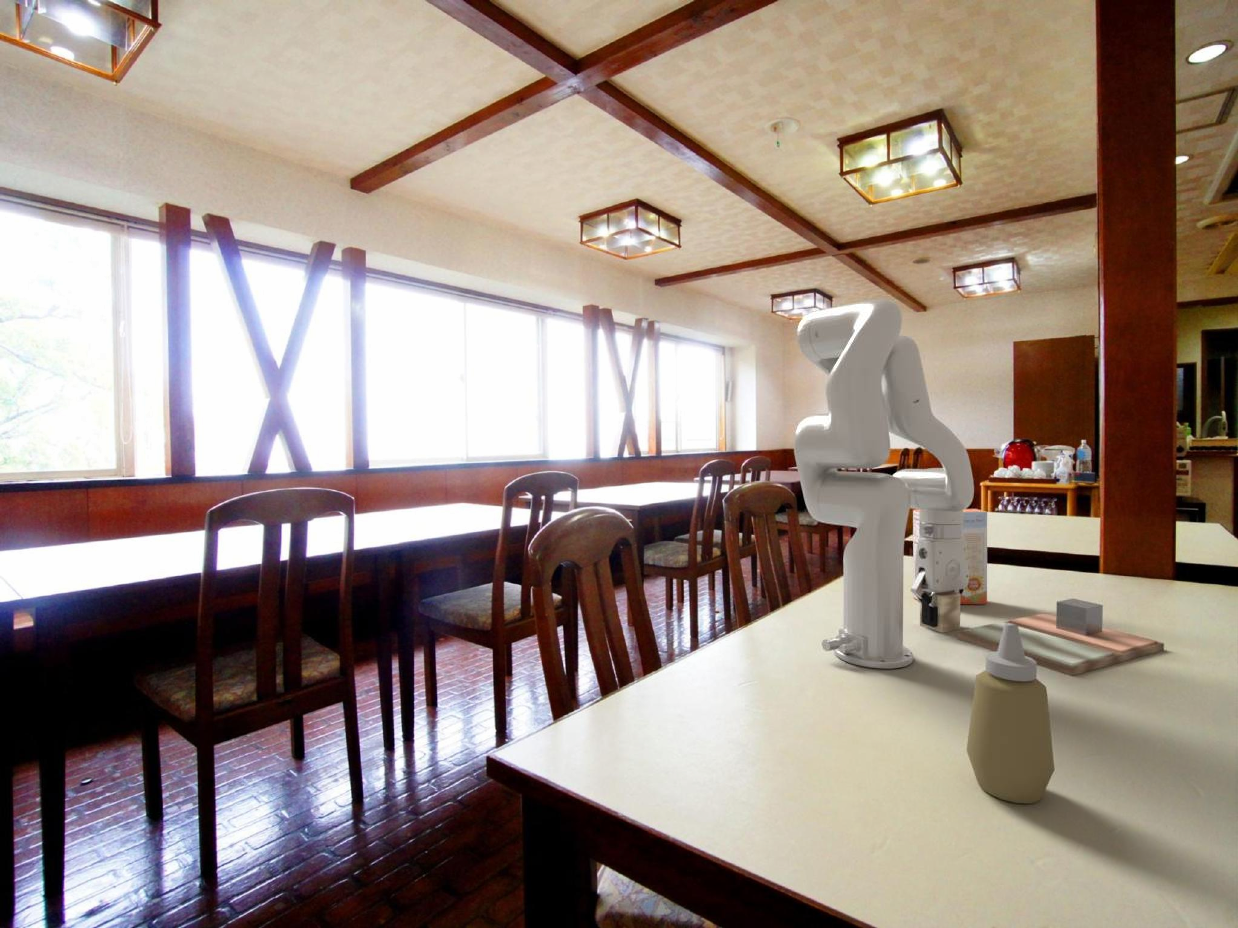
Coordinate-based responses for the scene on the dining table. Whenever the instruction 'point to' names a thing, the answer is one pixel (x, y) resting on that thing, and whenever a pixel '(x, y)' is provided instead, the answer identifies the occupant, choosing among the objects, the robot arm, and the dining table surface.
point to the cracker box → (975, 551)
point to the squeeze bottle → (1011, 725)
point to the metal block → (1079, 617)
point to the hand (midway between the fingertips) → (939, 622)
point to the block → (946, 612)
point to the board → (1064, 644)
